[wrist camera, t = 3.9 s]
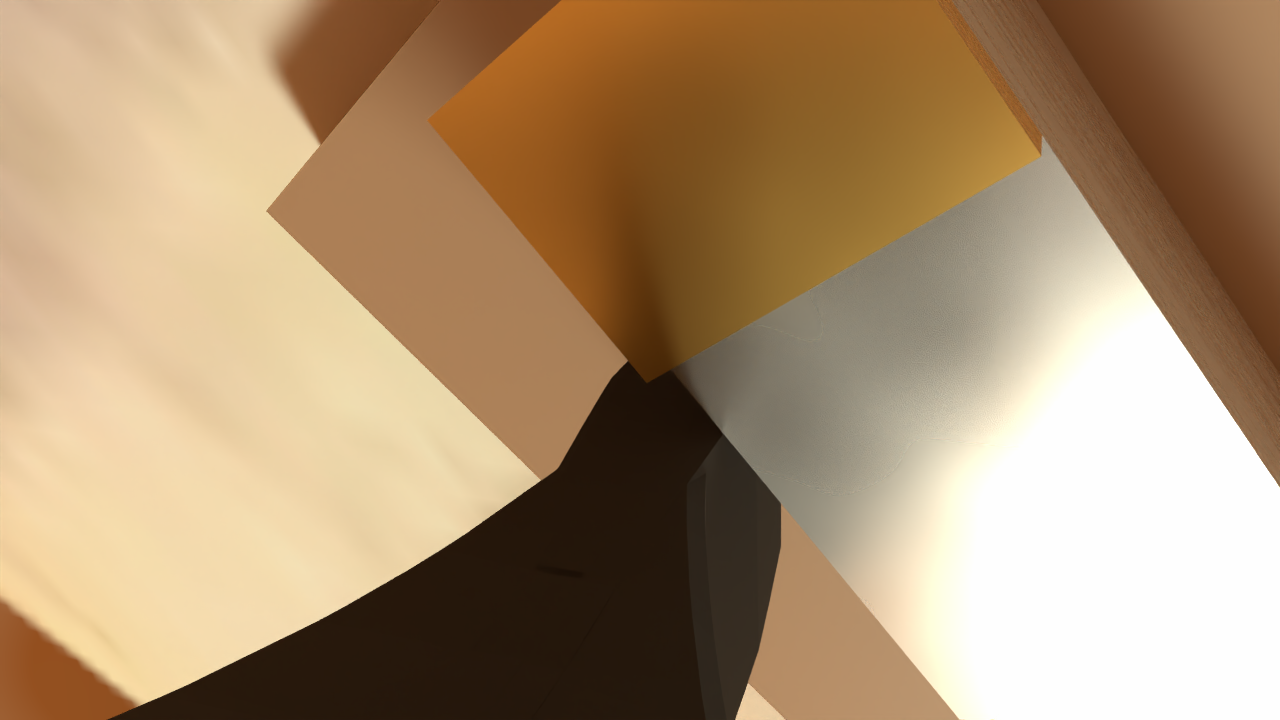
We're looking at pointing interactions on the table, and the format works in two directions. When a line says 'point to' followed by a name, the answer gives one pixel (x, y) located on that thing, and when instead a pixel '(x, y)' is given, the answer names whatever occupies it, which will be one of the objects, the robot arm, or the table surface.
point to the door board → (587, 359)
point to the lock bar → (921, 327)
